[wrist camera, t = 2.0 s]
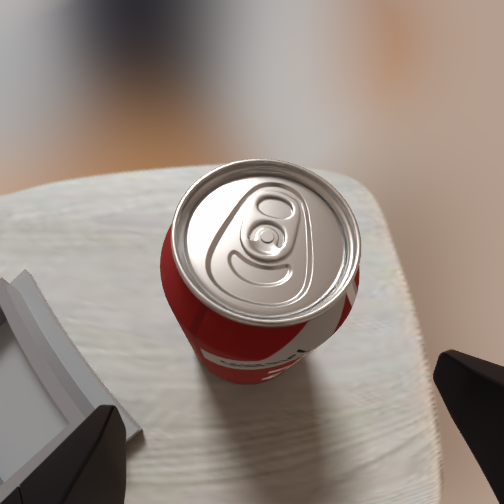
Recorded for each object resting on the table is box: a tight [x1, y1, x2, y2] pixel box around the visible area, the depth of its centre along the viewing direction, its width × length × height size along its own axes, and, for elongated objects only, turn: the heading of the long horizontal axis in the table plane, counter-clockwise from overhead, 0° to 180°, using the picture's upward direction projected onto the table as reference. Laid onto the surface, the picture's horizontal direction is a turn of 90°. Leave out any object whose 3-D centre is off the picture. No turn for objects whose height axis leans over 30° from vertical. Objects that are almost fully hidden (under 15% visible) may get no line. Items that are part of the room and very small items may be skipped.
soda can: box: [160, 159, 361, 384], centre depth 14 cm, size 7×7×12 cm
